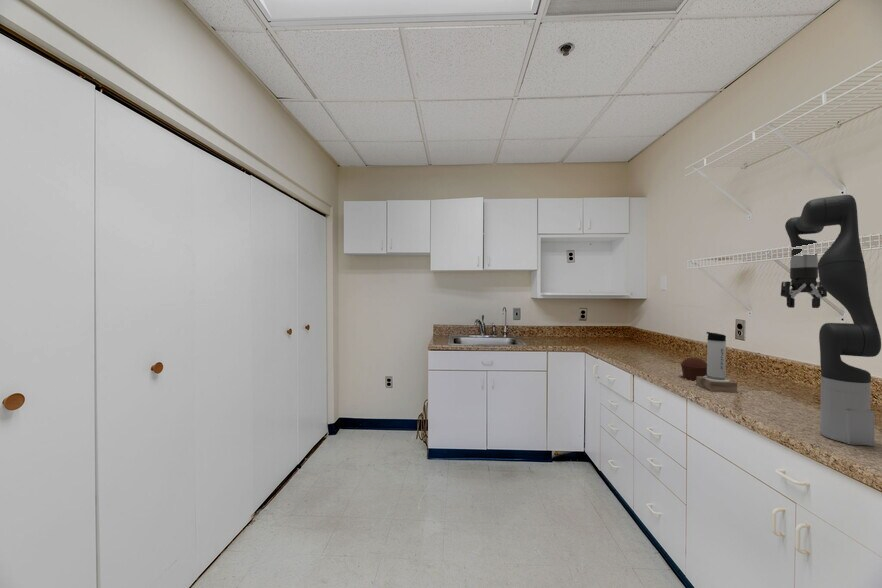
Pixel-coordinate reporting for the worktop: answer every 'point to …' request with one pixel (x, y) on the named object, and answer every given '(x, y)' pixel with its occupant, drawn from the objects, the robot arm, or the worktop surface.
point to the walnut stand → (716, 384)
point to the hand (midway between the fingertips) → (803, 307)
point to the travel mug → (716, 356)
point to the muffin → (693, 368)
